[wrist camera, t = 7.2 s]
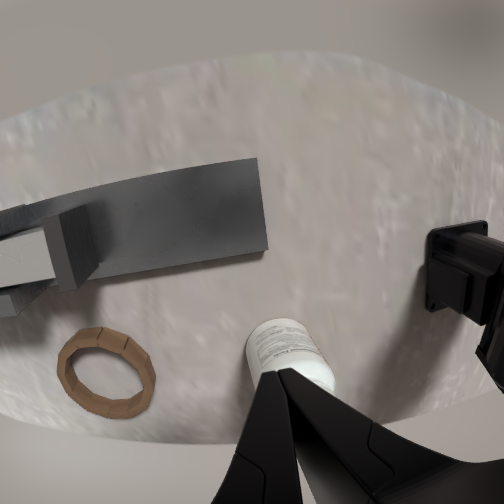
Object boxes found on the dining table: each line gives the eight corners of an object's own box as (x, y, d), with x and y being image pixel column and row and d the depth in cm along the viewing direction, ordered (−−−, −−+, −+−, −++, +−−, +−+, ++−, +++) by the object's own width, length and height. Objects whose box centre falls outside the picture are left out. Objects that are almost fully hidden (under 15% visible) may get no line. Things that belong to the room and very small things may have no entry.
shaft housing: (254, 156, 18) (271, 153, 13) (266, 248, 19) (285, 274, 15) (-59, 233, 15) (-98, 249, 11) (-41, 299, 17) (-75, 325, 12)
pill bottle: (297, 374, 22) (332, 451, 15) (238, 367, 21) (255, 451, 14) (317, 321, 21) (366, 391, 14) (254, 311, 20) (281, 387, 13)
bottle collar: (138, 322, 19) (134, 333, 18) (165, 401, 21) (164, 415, 20) (51, 332, 19) (42, 343, 17) (85, 406, 21) (80, 419, 19)
